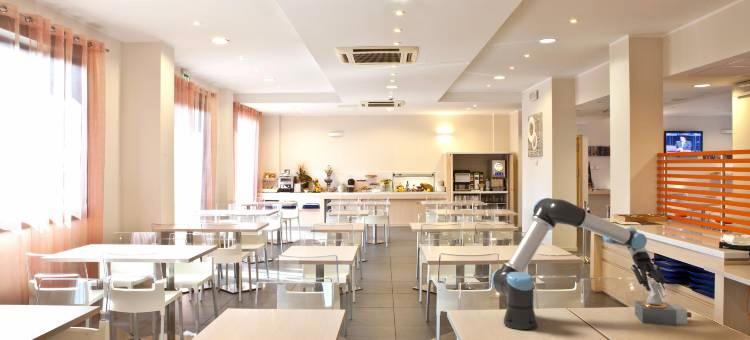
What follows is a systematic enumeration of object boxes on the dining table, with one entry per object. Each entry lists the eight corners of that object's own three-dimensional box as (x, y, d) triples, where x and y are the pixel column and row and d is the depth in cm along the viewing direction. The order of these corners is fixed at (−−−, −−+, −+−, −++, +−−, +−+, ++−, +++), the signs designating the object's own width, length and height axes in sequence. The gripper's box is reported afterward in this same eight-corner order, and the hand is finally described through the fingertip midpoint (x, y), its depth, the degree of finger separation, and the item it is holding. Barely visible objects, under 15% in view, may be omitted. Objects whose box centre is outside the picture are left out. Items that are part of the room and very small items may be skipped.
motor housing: (642, 323, 227) (642, 307, 227) (635, 314, 241) (634, 299, 241) (696, 326, 222) (696, 310, 222) (685, 317, 235) (685, 302, 235)
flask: (666, 305, 228) (665, 284, 229) (649, 305, 229) (649, 283, 230) (659, 302, 235) (659, 281, 236) (643, 301, 237) (643, 280, 237)
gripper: (654, 259, 248) (674, 300, 231) (619, 259, 248) (637, 300, 231) (660, 250, 243) (681, 292, 226) (625, 250, 243) (643, 292, 226)
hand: (659, 296), depth 229 cm, fingers open, 4 cm apart
